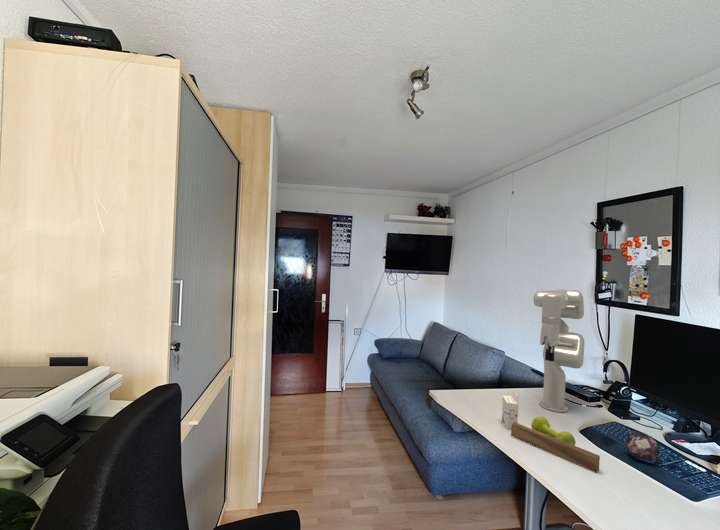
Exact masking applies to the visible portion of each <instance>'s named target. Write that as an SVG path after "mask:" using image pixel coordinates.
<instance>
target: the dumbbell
mask: <svg viewBox="0 0 720 530" xmlns="http://www.w3.org/2000/svg"><path fill="white" fill-rule="evenodd" d="M530 426H531V429H533V430H536V431H539V432H541V433H544V434H546V435H549V436H551V437H554V438H556V439H559V440H561V441H564V442H566V443H569V444H571V445H574V446H576V443H577V442H576V439H575V437H574V435H573V433H571V432H570V431H566V430H564V431H560V432H558V431H556V430H554V429H552V428H551V425H550V423H549V420H548V419H547V418H546V417H544V416H536V417H534V418H533V420H532V422H531V425H530Z"/></svg>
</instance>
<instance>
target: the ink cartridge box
mask: <svg viewBox="0 0 720 530" xmlns="http://www.w3.org/2000/svg"><path fill="white" fill-rule="evenodd" d="M512 395H513V396H511V395H502V406H501V407H502V411H501V412H502V414H501V421H502V420H503V421H502V423H503V422H504V423H503V425H504V427H505V429H506V428H508V429H507V430H511V426H512V424H513V423H514V422H516V423H518V424H519V399H518V395H517V393H516V392H515V390H512Z"/></svg>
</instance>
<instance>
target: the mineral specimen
mask: <svg viewBox="0 0 720 530" xmlns="http://www.w3.org/2000/svg"><path fill="white" fill-rule="evenodd" d="M624 448H625V450H626V451H627V452H628V453H629V454H630V455H631V454H632V455H633V456H635V457H637V458H640V459H644V460H647V461H653V462H654V463H656V460H657V458H658V457H659V455H660V453H661V450H660V446H659V444H658V443H657V441H656V440H655V439H654V438H652V437H651V436H650V435H648V434H647V433H643V432H640V431H637V430H631V431H630V432H629V433H628V435H627V437H626V438H625V441H624ZM632 455H631V456H632ZM633 456H632V457H633ZM635 457H634V458H635Z"/></svg>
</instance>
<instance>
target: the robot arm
mask: <svg viewBox="0 0 720 530" xmlns="http://www.w3.org/2000/svg"><path fill="white" fill-rule="evenodd" d="M533 303H534V306H536V307H538V308H541V329H540V337H539V338H540V339H539V344H540V345H541V346H543V345H544V346H543V350H542V357H543V389H542V390H543V393H542V395H543V396H542V397H543V399H540V400H539V406H540V407H542V408H543V409H545V410H547V411H551V412H556V413H566V412H568V411H569V407H568V405H566V404H565V400H566V378H567V376H566V373H565V371H564V370H563V368H562V367H565V368H571V369H581V368H582V367H583V364H584V360H585V359H584V358H585V339H584V336H583V335H582V334H580V333H578V332H577V333H576V332H571V331H569V329H570V327H569V325H568V324H567V323H566V322H565V320H564V319H571V320H581V319H583V318H584V314H585V305H584V304H585V303H584V296H583V293H582V292H581V291H579V290H576V289H575V290H574V289H559V288H557V289H553V290H538V291H536V292H535V293H534V294H533ZM562 318H563V319H562Z"/></svg>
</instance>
